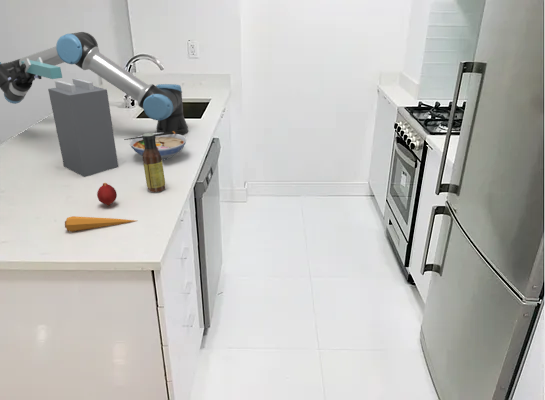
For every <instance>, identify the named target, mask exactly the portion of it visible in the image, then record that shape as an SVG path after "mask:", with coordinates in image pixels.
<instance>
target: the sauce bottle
mask: <svg viewBox="0 0 545 400" xmlns="http://www.w3.org/2000/svg"><path fill="white" fill-rule="evenodd" d="M154 133H155V132H145V133H143V134H142V135H143V140H144V145H145V146H144V147H145V149H144V152H143V156H142V161H143V169H144V176H145V182H146V183H145V184H146V187H147V191H148V192H151V193H160V192H163V191H164V190H166V181H165V180H166V179H165V172H164V166H163V165H164V164H163V160H162V157H161V155H160V153H159V151H158V148H157V146H156V142H155V138H156V137H155V134H154Z"/></svg>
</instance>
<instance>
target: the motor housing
mask: <svg viewBox="0 0 545 400" xmlns="http://www.w3.org/2000/svg"><path fill="white" fill-rule="evenodd" d="M54 85H55V87H52V88H48V95H49V100H50V104H51V110H52V114H53V118H54V119H53V120H54V124H55V125H54V126H55V130H56V134H57V138H58V144H59V149H60V154H61V158H62V164H63V167H65V169H67V170H70V171H72V172H74V173H76V174H77V175H79V176H81V177H84V178H86V177H89V176H94V175H96V174H101V173H104V172H106V171H109V170H113V169H116V168H117V169H118V168H119V163H118V155H117V150H116V142H115V141H116V140H115V136H114V135H115V134H114V129H113V122H112V115H111V108H110V101H109V94H108V90H107V88H102V87H99V86H94V82H92V81H89V80H84V79H80V78H77V77H76V78H72V83H69V82H67V81H63V80H55V81H54Z"/></svg>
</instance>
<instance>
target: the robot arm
mask: <svg viewBox="0 0 545 400" xmlns="http://www.w3.org/2000/svg"><path fill="white" fill-rule="evenodd" d="M29 60H32V61H37V62H41V63H45V64H49V65H54V66H58V65H60V64H69V65H75V66H77V67H79V68H80V69H82V70H83V71H87V70H89V71H91V72H92V73H94V74H96V75H97V76H99V78H101V79H103V80H105V81H106V82H108V83H109V84H111V85H113V86H114V87H115V88H116V89H118V90H120V91H121V92H123V93H124V94H125V95H127V96H129V97H131V98H132V99H133V100H135V101H136V102H137V104H138V107H139V108H141V109H143V112H144V114H145V115H146V116H147V117H148V118H149V119H151V120H153V121H157V123H156V127H155V129H156V133H166V132H172V131H178V130H183V131H184V133H177V134H180V135H182V134H183V135H185V133H186V134H187V133H188V132H189V127H188V124H187V121H186V119H185V117H184V108H183V107H184V106H183V94H182V93H183V91H182V86H181V85H180V84H177V83H176V84H175V83H174V84H172V83H163V84H162V83H160V84H156V85H155V84H152V83H151V84H148V83H146V82H144V81H142V80H141V79H140V78H138V77H137V76H135V75H134V74H132V73H131V72H129V71H128V70H126V69H125V68H123V67H122V66H120V65H119V64H118V63H116V62H114V61H113V60H111V59H110V58H108V57H107V56H105V55H104V54H102V53H101V52H100V49H99V45H98V42H97V39H96V38H95V37H94V36H93V35H92V34H90V33H89V32H85V31H80V32H79V31H77V32H74V33H65V34H64V35H61V36H60V37H59V38H58V39H57V41H56V45H55V46H52V47H50V48H47V49H44V50H41V51H38V52H36V53H33V54H30V55H27V56H24V57H22V58H18V59H15V60H11V61H8V62H4V63H2V61H0V90H1V91H2V92H3V96H4V97H3V98H4V99H5V100H6V102H8V103H10V104H19V103H20V102H22V101H23V100H24V99H25V97H26V95H27V93H28V92H29V91H30V89H31V87H32V86H33V81H35V79H38V80H42V76H39V75H35V74H32V73H28V72H27V71H28V69H29V67H30V66H31V63H30V61H29ZM21 61H25V62H24V64H22V63H21ZM24 70H25V71H24ZM183 135H182V136H183Z"/></svg>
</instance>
